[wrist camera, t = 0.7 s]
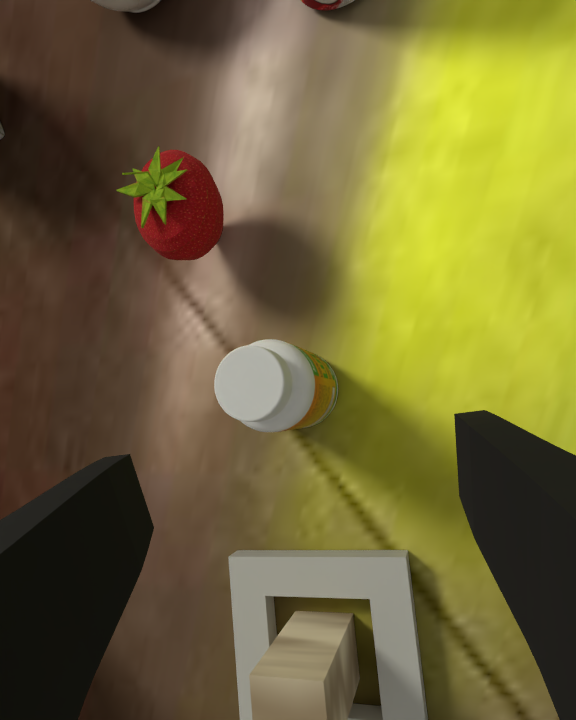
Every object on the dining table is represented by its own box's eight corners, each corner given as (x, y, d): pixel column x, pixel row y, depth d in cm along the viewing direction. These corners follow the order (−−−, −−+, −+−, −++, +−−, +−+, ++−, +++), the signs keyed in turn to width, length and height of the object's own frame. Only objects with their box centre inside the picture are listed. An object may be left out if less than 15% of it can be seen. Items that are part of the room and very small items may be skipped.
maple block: (360, 678, 30) (331, 770, 22) (301, 673, 31) (255, 759, 23) (353, 613, 30) (323, 681, 23) (295, 610, 32) (249, 674, 24)
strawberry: (187, 288, 37) (98, 247, 27) (176, 200, 38) (88, 132, 28) (255, 270, 35) (185, 219, 26) (242, 179, 36) (171, 98, 27)
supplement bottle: (353, 374, 32) (317, 362, 23) (316, 442, 32) (265, 456, 23) (289, 339, 34) (231, 313, 24) (254, 403, 34) (185, 402, 25)
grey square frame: (432, 755, 28) (431, 774, 27) (250, 732, 32) (242, 747, 30) (407, 550, 30) (406, 557, 28) (237, 550, 33) (228, 556, 32)
